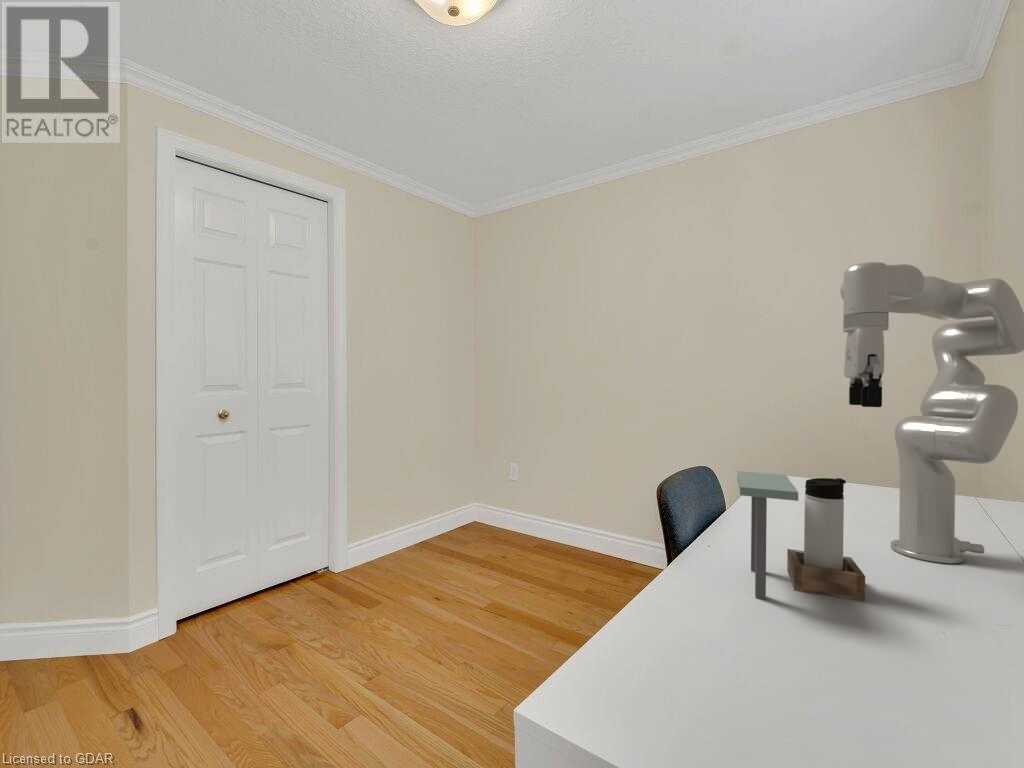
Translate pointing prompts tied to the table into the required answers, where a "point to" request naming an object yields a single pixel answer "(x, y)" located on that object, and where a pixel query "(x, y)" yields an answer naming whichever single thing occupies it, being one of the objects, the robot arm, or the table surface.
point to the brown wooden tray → (826, 577)
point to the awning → (762, 515)
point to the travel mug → (824, 523)
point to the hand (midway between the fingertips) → (864, 405)
